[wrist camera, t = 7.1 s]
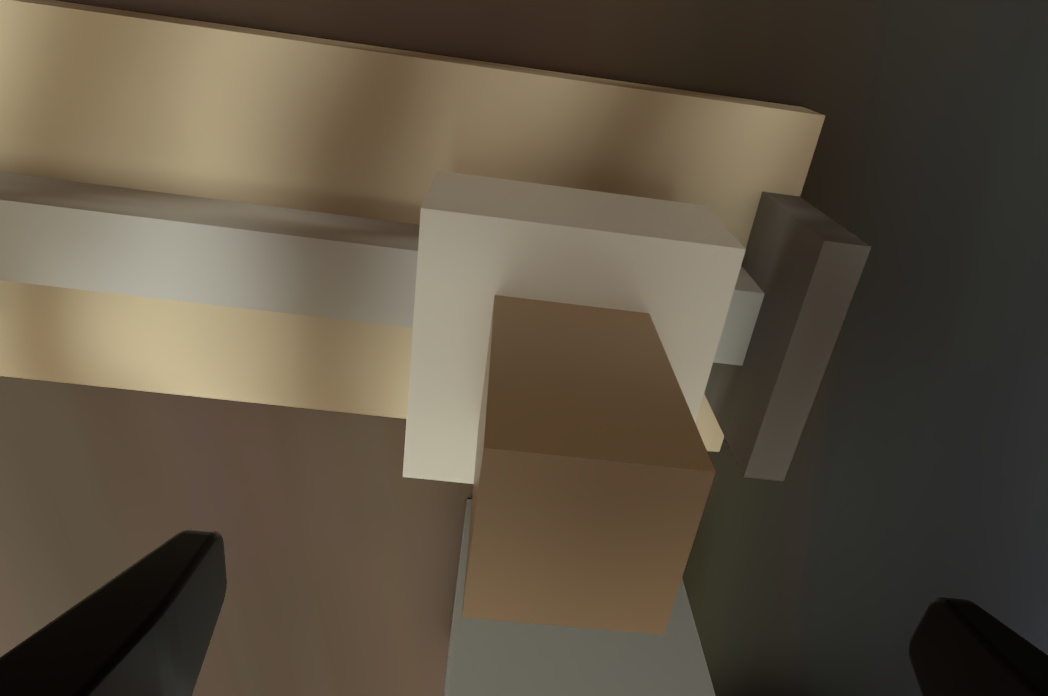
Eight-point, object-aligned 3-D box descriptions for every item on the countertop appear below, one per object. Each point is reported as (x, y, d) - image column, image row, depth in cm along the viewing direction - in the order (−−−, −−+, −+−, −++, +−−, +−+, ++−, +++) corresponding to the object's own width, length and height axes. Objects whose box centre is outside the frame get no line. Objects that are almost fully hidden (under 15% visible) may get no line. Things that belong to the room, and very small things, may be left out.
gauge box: (664, 518, 24) (726, 733, 17) (625, 654, 28) (663, 885, 20) (466, 498, 24) (446, 712, 17) (449, 640, 27) (426, 870, 20)
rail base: (802, 106, 18) (908, 147, 13) (707, 425, 23) (760, 543, 18) (-79, -19, 17) (-327, -26, 12) (5, 348, 21) (-149, 455, 16)
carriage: (692, 190, 17) (868, 384, 8) (641, 403, 19) (735, 709, 11) (443, 157, 16) (366, 327, 8) (425, 379, 19) (354, 679, 11)
